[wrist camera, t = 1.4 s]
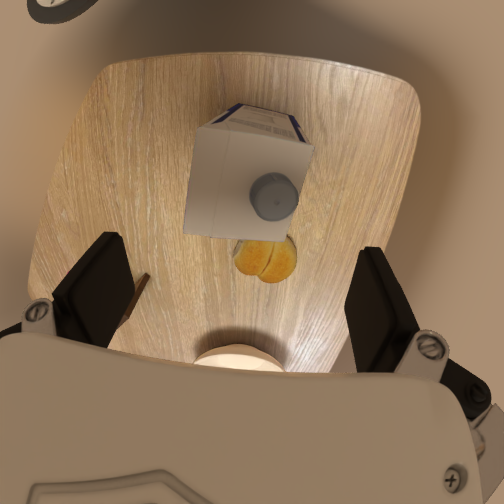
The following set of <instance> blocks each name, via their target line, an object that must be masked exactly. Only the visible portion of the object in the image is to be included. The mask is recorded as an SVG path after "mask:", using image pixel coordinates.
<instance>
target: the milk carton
mask: <svg viewBox="0 0 504 504" xmlns="http://www.w3.org/2000/svg"><path fill="white" fill-rule="evenodd" d="M314 148H315V147H314V146H313V145H311V144H310V142H309V140H308V139H307V137H306V136H305V134H304V132H303V131H302V129H301V128H300V126H299V124H298V123H297V121H296V120H295V118H294V117H293V116H291V115H288V114H284V113H280V112H276V111H272V110H267V109H263V108H259V107H254V106H249V105H245V104H240V103H238V104H237V105H235V106H233V107H232V108H230V109H228V110H227V111H225V112H223V113H222V114H220V115H218V116H217V117H215V118H214V119H212V120H210V121H209V122H207V123H206V124H204V125H203V126H200V127H198V128H197V133H196V139H195V145H194V151H193V157H192V164H191V171H190V178H189V185H188V193H187V200H186V209H185V217H184V226H183V233H184V234H193V235H203V236H210V238H225V239H242V240H258V241H274V242H284V241H285V238H286V235H287V232H288V229H289V226H290V223H291V220H292V217H293V214H294V211H295V209H296V208H297V207H296V206H297V205H298V204H297V203H298V202H299V200H298V199H299V196H300V192H301V189H302V186H303V183H304V180H305V177H306V174H307V170H308V167H309V164H310V161H311V157H312V154H313V151H314Z"/></svg>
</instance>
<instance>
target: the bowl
mask: <svg viewBox="0 0 504 504" xmlns="http://www.w3.org/2000/svg"><path fill="white" fill-rule="evenodd" d="M192 364H198V365H206V366H214V367H224V368H234V369H246V370H259V371H275V372H286V371H285V370H284V368H283V366H282V365H281V364H280V363H279V362H278V361H277V360H276V359H275V358H273V357H272V356H270V355H269V354H267V353H264V352H262V351H260V350H258V349H256V348H254V347H252V346H249V345H244V344H231V345H227V346H224V347H218V348H214V349H211V350H209V351H207V352H205V353H203V354H202V355H200V356H199V357H198V358H197V359H196V360H195V361H194V362H193V363H192Z"/></svg>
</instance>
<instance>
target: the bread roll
mask: <svg viewBox="0 0 504 504" xmlns="http://www.w3.org/2000/svg"><path fill="white" fill-rule="evenodd" d="M233 258H234V262H235V265H236V267H237V268H238V270H239V271H240V272H242V273H243V274H245V275H256V276H258V277H259V279H260V280H261V281H263V282H266V283H277V282H280V281H282V280H284V279H286V278H287V277H288V276H290V275H291V273H292V272H293V271H294V269H295V267H296V263H297V254H296V249H295V247H294V244H293V243H292V241H291V240H290V239H289V238H288V237H287V236H286V238H285V241H284V242H274V241H258V240H242V239H240V240H239V243H238V244H237V246H236V249H235V251H234V254H233Z"/></svg>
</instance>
